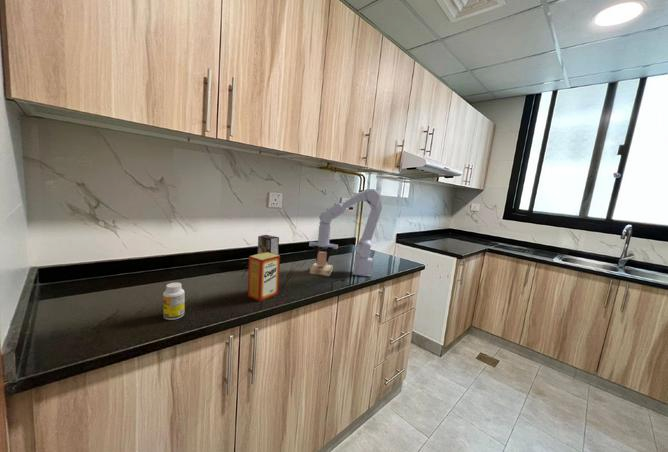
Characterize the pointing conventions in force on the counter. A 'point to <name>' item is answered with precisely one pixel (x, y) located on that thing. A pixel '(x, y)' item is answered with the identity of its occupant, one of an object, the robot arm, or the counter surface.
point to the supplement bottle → (173, 301)
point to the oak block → (321, 269)
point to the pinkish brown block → (322, 258)
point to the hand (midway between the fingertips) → (322, 261)
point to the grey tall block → (268, 244)
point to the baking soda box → (263, 276)
